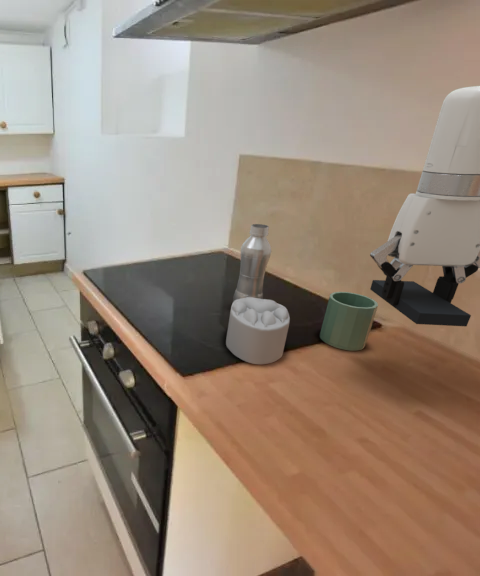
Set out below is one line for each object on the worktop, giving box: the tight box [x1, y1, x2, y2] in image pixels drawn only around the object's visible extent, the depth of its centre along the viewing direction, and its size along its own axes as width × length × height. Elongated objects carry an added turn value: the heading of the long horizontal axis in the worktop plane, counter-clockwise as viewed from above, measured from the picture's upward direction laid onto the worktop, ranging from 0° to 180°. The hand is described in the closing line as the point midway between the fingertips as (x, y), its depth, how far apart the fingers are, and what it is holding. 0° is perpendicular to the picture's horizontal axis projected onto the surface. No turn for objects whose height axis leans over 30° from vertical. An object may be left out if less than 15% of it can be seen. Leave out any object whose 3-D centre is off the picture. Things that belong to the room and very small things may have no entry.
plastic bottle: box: [232, 223, 272, 303], centre depth 85 cm, size 6×7×20 cm
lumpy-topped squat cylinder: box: [225, 297, 291, 365], centre depth 72 cm, size 10×13×9 cm
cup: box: [319, 291, 379, 352], centre depth 74 cm, size 8×8×9 cm
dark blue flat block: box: [370, 279, 472, 327], centre depth 59 cm, size 6×13×2 cm, turn 171°
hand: (414, 301), depth 59 cm, fingers closed on dark blue flat block, 6 cm apart
